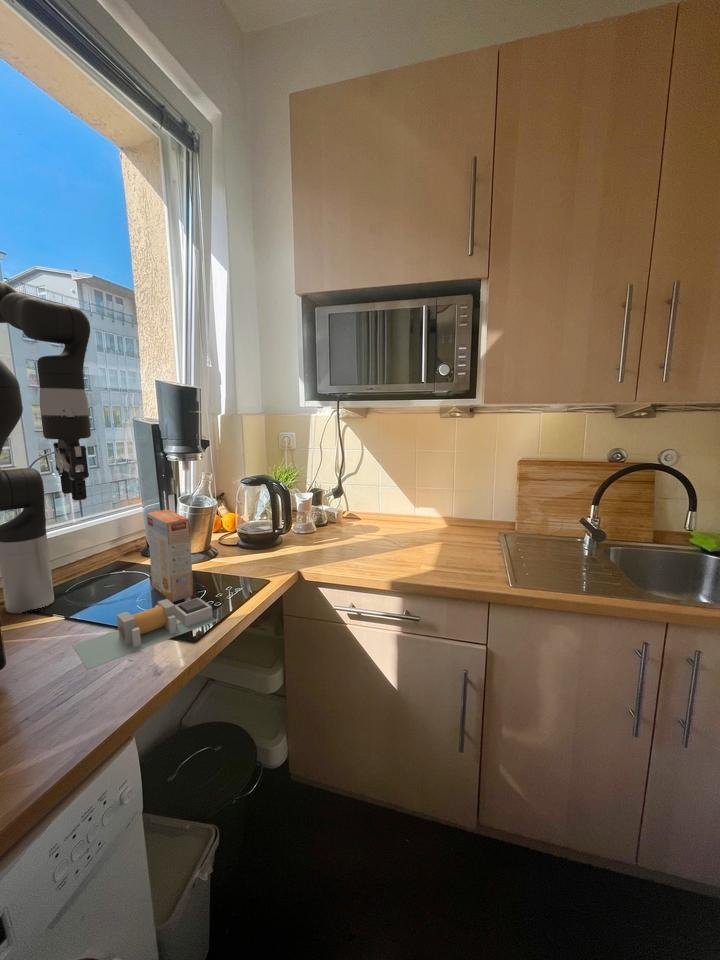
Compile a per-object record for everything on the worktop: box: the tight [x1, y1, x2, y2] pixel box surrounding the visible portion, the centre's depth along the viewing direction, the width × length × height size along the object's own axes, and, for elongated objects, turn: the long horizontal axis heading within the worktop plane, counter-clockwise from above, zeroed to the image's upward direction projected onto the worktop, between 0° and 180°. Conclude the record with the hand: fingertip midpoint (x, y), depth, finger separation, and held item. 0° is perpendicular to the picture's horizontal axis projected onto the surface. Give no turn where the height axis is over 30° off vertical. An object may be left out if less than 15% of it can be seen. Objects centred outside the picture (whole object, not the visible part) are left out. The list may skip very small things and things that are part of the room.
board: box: [72, 597, 218, 670], centre depth 87 cm, size 11×25×4 cm, turn 136°
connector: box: [179, 598, 205, 614], centre depth 94 cm, size 4×4×3 cm
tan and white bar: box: [116, 598, 177, 646], centre depth 87 cm, size 4×10×5 cm, turn 136°
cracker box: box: [146, 509, 194, 603], centre depth 106 cm, size 14×6×21 cm, turn 44°
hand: (74, 496), depth 82 cm, fingers open, 8 cm apart
